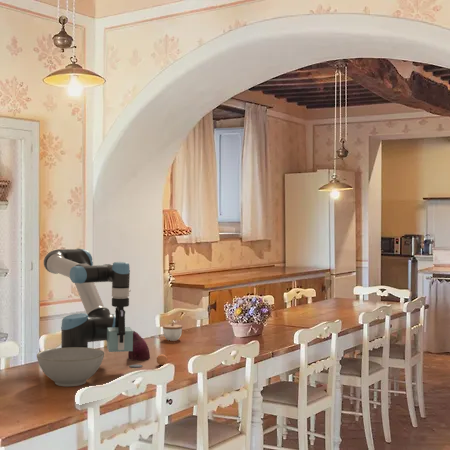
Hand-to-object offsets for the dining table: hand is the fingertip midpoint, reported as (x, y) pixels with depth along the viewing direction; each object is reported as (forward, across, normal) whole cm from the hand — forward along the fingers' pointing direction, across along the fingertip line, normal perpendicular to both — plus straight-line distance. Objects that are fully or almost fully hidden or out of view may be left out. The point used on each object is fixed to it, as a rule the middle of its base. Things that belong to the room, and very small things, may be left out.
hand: (119, 347), depth 304 cm
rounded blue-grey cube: (+1, 0, 0) cm, 1 cm away
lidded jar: (+11, +70, -37) cm, 80 cm away
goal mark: (+10, +6, -8) cm, 15 cm away
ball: (+8, +6, -20) cm, 23 cm away
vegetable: (+11, +24, -12) cm, 29 cm away
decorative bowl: (+10, -19, +22) cm, 30 cm away
